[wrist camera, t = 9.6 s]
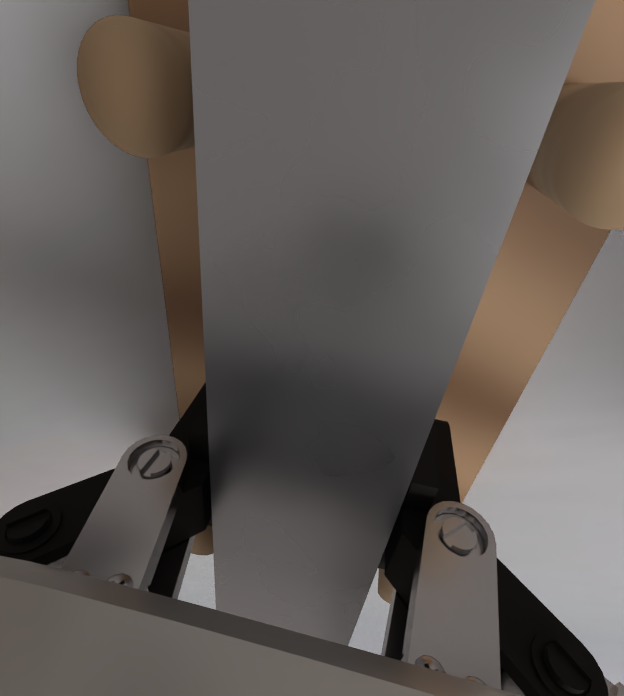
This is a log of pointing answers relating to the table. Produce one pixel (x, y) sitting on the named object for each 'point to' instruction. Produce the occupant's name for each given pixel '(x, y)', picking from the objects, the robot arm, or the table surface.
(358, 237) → the steel bar
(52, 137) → the table surface
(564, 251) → the rack
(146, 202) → the table surface
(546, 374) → the table surface
